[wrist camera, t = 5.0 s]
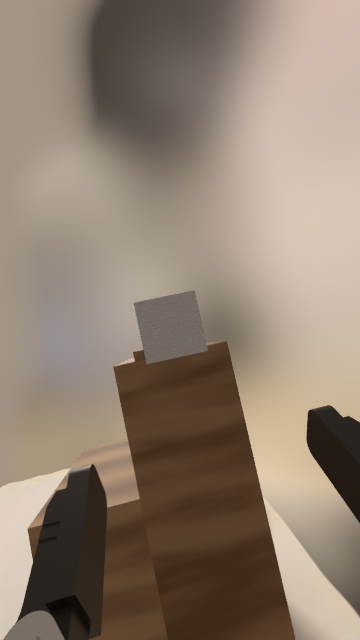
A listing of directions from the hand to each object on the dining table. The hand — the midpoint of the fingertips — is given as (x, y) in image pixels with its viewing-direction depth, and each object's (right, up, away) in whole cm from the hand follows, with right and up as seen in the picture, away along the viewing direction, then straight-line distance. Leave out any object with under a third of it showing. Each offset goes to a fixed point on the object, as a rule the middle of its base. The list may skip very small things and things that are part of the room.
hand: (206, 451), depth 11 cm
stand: (0, -31, +21) cm, 37 cm away
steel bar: (-2, +2, +17) cm, 18 cm away
